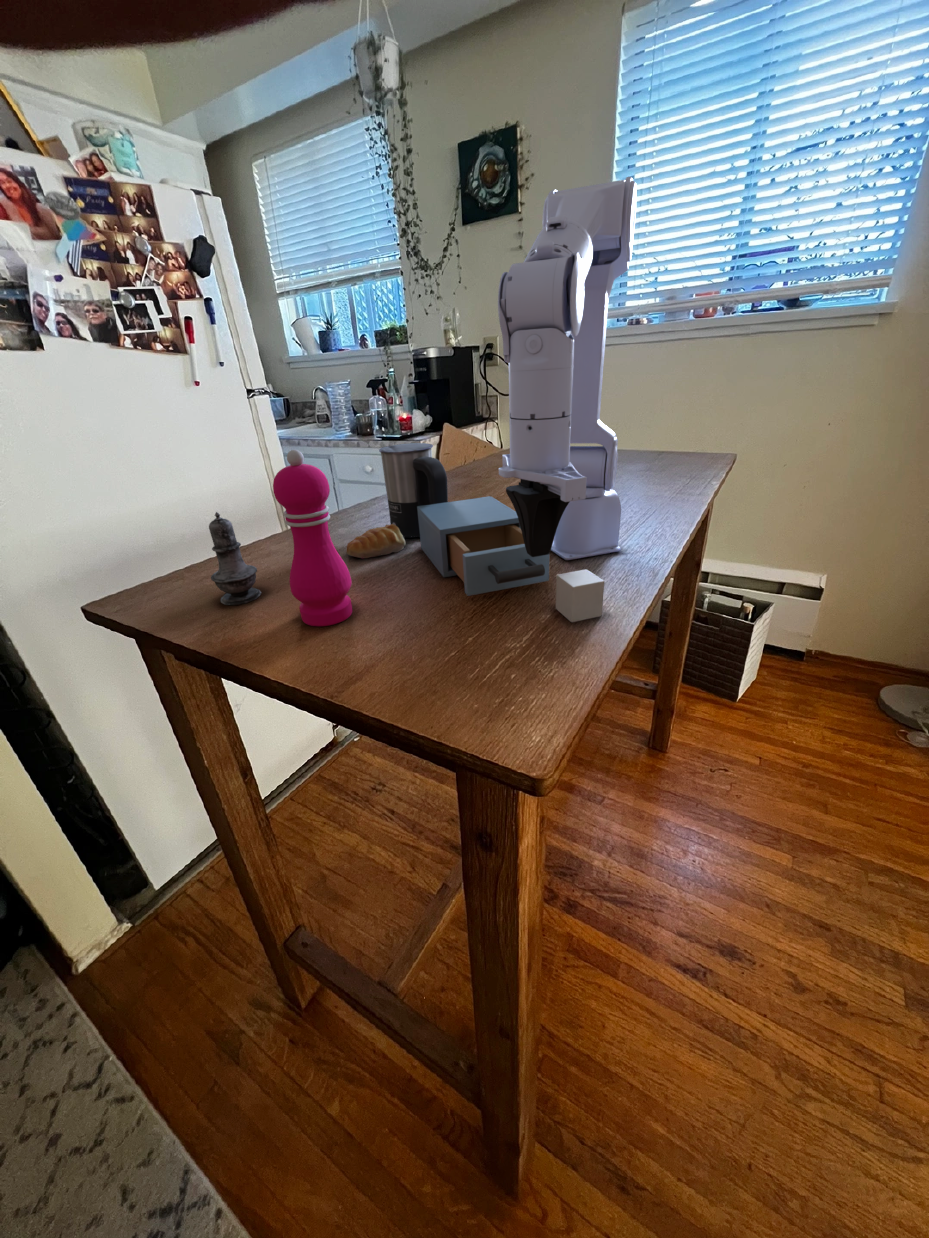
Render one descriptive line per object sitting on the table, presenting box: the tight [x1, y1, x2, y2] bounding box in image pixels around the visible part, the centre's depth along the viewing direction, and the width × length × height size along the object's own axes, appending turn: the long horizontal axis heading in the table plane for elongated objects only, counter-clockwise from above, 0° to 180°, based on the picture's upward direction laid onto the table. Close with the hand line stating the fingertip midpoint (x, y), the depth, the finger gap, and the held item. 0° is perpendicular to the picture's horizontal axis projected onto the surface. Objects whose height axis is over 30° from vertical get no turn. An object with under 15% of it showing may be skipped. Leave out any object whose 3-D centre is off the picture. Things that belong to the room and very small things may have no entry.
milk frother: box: [378, 442, 449, 539], centre depth 90 cm, size 14×16×15 cm
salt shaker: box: [208, 511, 262, 606], centre depth 67 cm, size 6×6×12 cm
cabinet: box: [417, 495, 521, 578], centre depth 77 cm, size 14×13×7 cm
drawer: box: [445, 524, 551, 597], centre depth 67 cm, size 17×11×5 cm
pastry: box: [346, 523, 406, 559], centre depth 82 cm, size 9×7×4 cm
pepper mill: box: [272, 449, 354, 627], centre depth 58 cm, size 7×7×20 cm
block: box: [555, 568, 605, 623], centre depth 59 cm, size 4×4×4 cm
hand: (538, 553), depth 53 cm, fingers closed
